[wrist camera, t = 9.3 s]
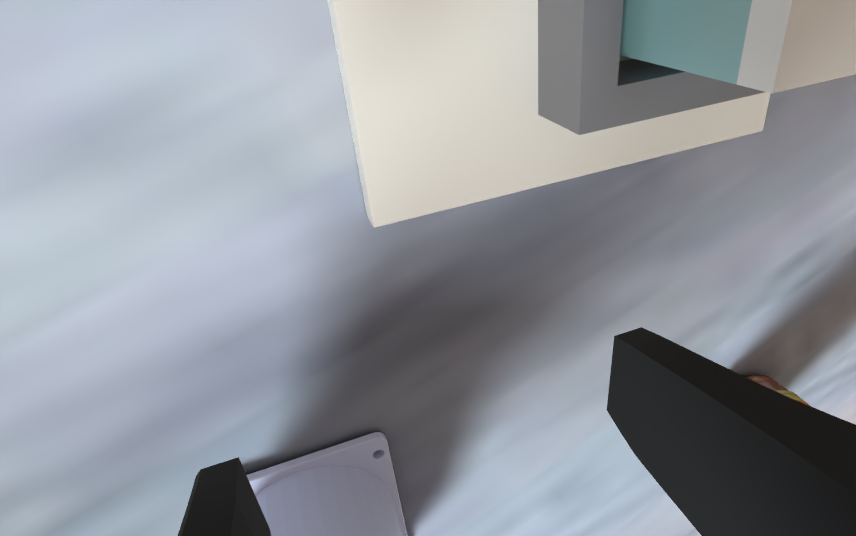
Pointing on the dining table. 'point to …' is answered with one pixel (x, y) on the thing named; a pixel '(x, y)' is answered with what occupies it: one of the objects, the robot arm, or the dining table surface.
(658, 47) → the block
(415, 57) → the outlet plate
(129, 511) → the dining table surface
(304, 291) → the dining table surface
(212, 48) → the dining table surface
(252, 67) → the dining table surface
